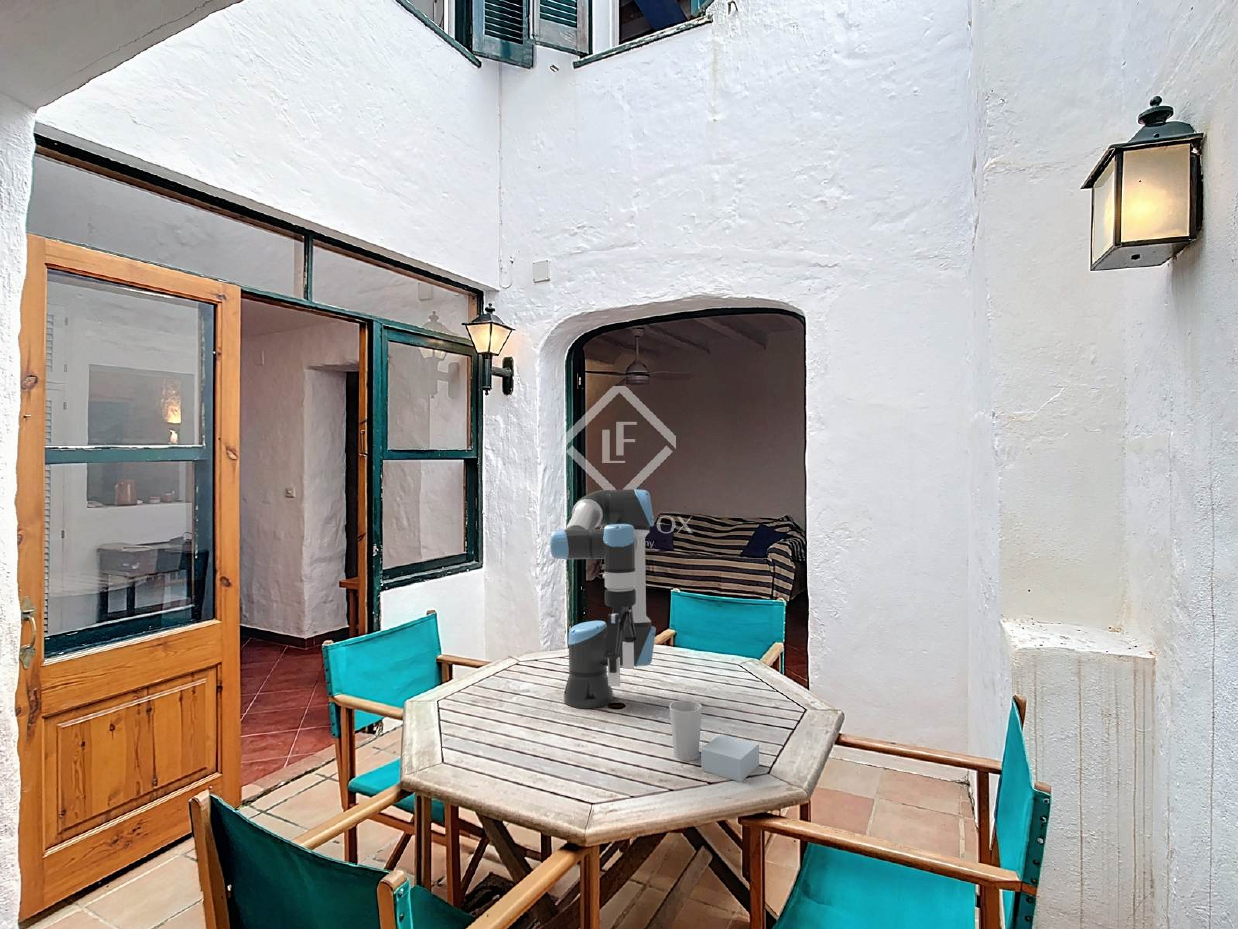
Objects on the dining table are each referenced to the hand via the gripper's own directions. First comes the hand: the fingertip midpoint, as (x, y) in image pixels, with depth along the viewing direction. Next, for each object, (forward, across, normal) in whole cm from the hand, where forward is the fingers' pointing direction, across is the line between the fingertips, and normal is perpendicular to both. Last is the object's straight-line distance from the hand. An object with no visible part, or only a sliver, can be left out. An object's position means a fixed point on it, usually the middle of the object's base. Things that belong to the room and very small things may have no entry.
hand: (621, 676), depth 154 cm
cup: (+21, -7, +14) cm, 26 cm away
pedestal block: (+20, -3, +25) cm, 33 cm away
